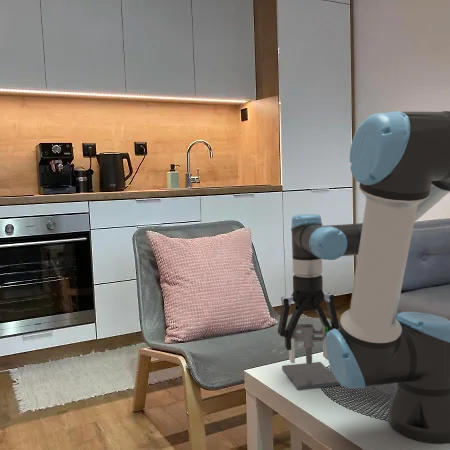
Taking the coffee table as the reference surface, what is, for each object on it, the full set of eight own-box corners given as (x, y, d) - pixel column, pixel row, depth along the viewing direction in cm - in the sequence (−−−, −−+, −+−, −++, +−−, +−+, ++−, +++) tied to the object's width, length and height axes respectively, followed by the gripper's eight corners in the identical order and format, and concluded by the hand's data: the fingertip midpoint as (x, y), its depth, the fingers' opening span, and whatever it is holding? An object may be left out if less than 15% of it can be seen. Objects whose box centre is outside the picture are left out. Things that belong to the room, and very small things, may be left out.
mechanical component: (329, 365, 130) (327, 327, 129) (289, 364, 132) (287, 327, 131) (329, 361, 133) (327, 324, 132) (289, 360, 135) (288, 323, 134)
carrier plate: (340, 385, 127) (340, 381, 127) (297, 390, 125) (297, 386, 125) (320, 365, 141) (320, 361, 141) (282, 369, 139) (281, 365, 139)
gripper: (341, 268, 136) (342, 350, 138) (263, 274, 132) (265, 358, 134) (353, 274, 128) (354, 360, 131) (270, 280, 125) (273, 369, 127)
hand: (309, 359), depth 133 cm, fingers closed on mechanical component, 9 cm apart
